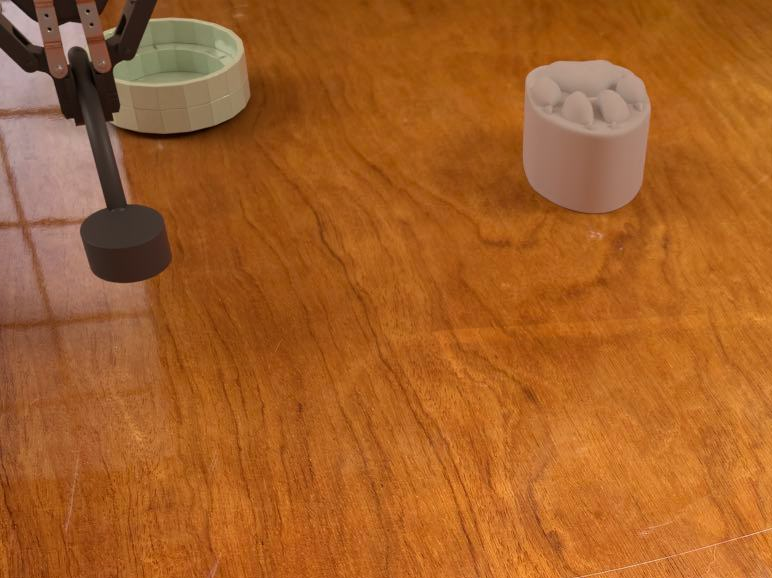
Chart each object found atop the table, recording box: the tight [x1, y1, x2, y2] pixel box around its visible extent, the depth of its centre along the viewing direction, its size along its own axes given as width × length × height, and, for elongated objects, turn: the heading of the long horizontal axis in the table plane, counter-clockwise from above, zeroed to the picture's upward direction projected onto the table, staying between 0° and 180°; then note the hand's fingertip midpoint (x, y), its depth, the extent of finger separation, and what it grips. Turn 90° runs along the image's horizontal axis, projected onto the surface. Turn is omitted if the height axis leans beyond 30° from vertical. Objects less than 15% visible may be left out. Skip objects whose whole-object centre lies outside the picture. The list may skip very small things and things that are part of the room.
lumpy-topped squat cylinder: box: [522, 59, 652, 215], centre depth 101 cm, size 10×13×9 cm
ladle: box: [67, 45, 173, 284], centre depth 82 cm, size 16×6×10 cm, turn 21°
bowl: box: [84, 17, 252, 135], centre depth 108 cm, size 14×14×5 cm
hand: (93, 118), depth 85 cm, fingers closed on ladle, 1 cm apart
